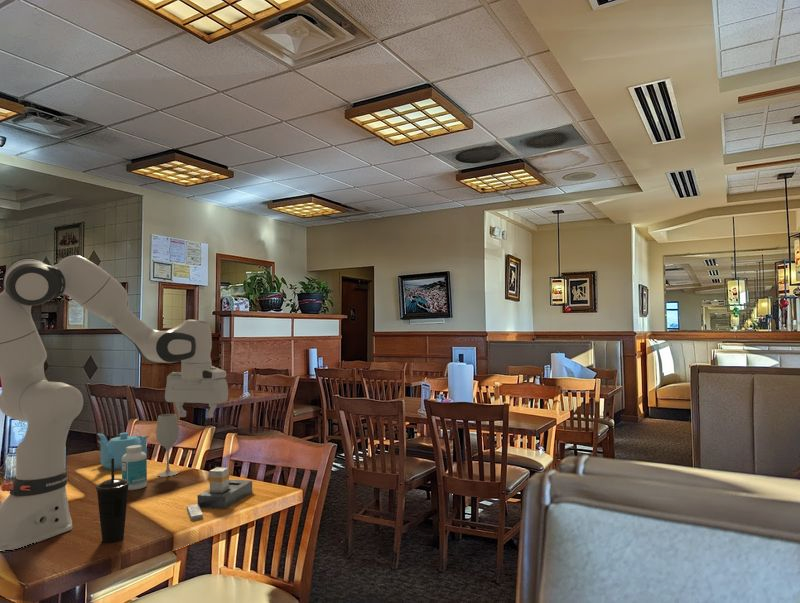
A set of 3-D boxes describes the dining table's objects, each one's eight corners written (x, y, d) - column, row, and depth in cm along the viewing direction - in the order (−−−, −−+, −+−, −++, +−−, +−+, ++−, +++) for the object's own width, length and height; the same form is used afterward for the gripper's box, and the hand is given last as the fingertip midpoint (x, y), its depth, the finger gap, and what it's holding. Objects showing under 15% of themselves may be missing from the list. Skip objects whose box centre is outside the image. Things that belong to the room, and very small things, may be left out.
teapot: (97, 474, 201) (97, 440, 201) (97, 463, 217) (97, 431, 217) (149, 467, 209) (149, 434, 209) (145, 457, 225) (145, 426, 226)
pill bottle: (151, 484, 187) (151, 443, 187) (138, 491, 179) (138, 449, 180) (130, 484, 187) (130, 443, 188) (117, 491, 180) (116, 449, 180)
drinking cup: (135, 532, 144) (134, 454, 144) (121, 544, 136) (121, 462, 137) (105, 533, 143) (104, 455, 144) (89, 545, 136) (89, 463, 136)
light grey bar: (202, 520, 153) (202, 514, 153) (191, 522, 152) (191, 516, 152) (197, 509, 162) (197, 503, 162) (187, 511, 160) (186, 505, 160)
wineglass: (157, 472, 201) (157, 414, 202) (180, 470, 203) (179, 412, 204) (155, 478, 194) (154, 417, 195) (178, 475, 196) (177, 416, 197)
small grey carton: (222, 505, 163) (221, 471, 164) (209, 505, 164) (209, 470, 164) (229, 501, 167) (229, 467, 168) (217, 500, 168) (216, 467, 168)
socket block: (225, 509, 160) (225, 496, 160) (197, 507, 162) (197, 495, 162) (252, 491, 176) (252, 480, 176) (226, 490, 178) (226, 479, 178)
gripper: (160, 372, 171) (159, 417, 171) (219, 373, 166) (219, 420, 166) (173, 371, 177) (173, 414, 177) (231, 371, 173) (230, 416, 172)
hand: (195, 417), depth 171 cm, fingers open, 8 cm apart
